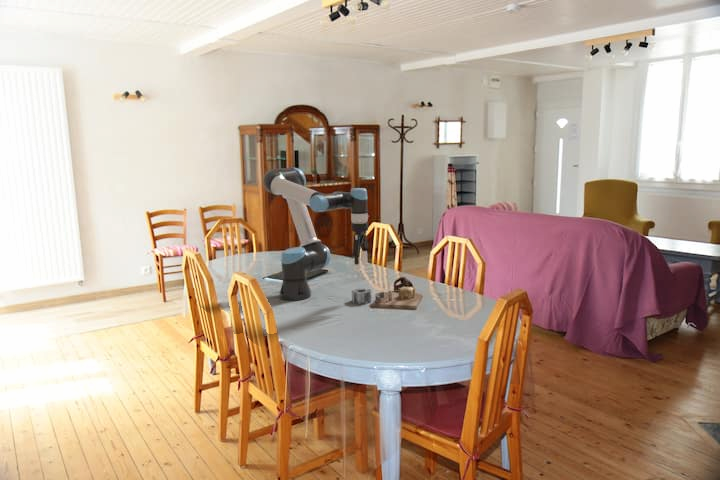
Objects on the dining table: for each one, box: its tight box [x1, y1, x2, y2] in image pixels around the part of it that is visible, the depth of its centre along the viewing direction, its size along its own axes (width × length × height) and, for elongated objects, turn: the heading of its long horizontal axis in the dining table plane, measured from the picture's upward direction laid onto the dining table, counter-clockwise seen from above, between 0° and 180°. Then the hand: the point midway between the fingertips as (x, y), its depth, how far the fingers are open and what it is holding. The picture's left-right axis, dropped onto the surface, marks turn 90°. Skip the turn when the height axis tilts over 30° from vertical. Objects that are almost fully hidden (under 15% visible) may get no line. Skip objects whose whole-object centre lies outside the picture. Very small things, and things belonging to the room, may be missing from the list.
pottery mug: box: [393, 276, 415, 292], centre depth 277 cm, size 12×10×8 cm
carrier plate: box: [371, 286, 424, 310], centre depth 259 cm, size 20×20×6 cm
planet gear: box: [351, 288, 372, 305], centre depth 261 cm, size 9×9×5 cm
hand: (361, 267), depth 258 cm, fingers open, 13 cm apart
